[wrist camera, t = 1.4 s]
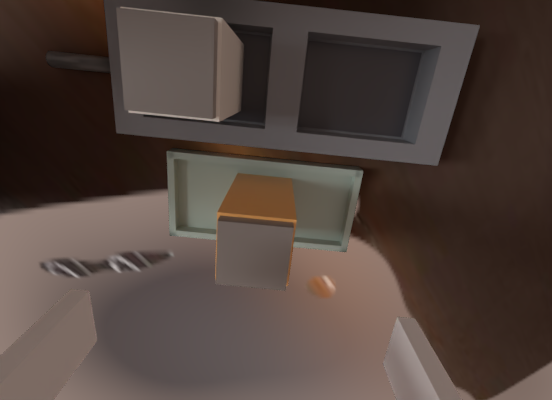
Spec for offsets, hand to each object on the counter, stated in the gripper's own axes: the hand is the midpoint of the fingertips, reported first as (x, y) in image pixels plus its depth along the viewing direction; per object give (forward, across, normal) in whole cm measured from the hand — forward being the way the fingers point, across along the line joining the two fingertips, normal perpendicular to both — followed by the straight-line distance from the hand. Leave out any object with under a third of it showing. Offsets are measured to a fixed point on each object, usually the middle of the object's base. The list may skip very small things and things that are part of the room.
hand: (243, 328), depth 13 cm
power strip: (+17, -2, +10) cm, 20 cm away
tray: (+16, 0, 0) cm, 17 cm away
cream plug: (+16, -5, +10) cm, 20 cm away
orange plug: (+16, 0, 0) cm, 16 cm away
